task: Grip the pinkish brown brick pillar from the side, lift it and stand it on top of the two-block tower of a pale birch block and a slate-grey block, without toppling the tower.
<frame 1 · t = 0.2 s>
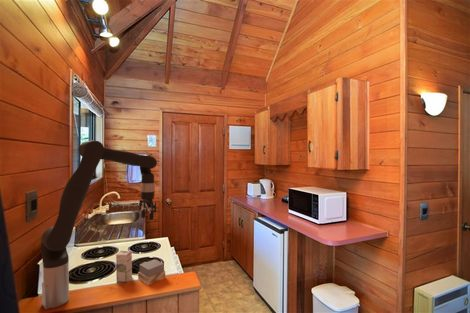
hand: (147, 218, 143), 29 cm above the counter, tool pointing down, fingers open, 8 cm apart
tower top: (151, 271, 131), point 4 cm above the counter
pinkish brown brick pillar: (124, 280, 130), on the counter
tower base: (151, 279, 131), on the counter
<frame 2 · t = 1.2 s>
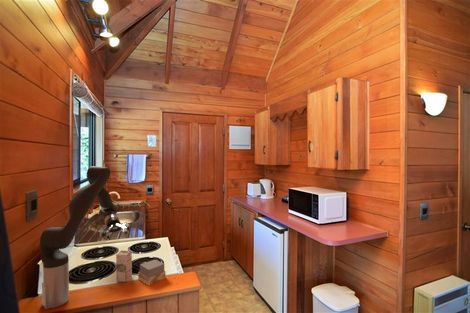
hand: (117, 235, 135), 22 cm above the counter, tool horizontal, fingers open, 8 cm apart
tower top: (152, 271, 130), point 4 cm above the counter, touching tower base
tower base: (151, 279, 131), on the counter, touching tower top
everything else where it was.
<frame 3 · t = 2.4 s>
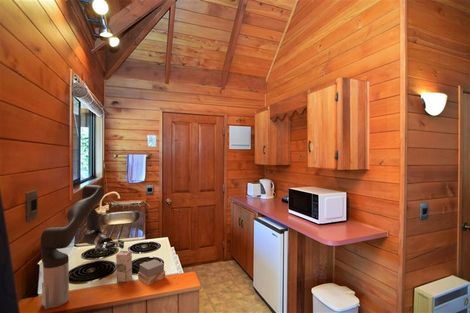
hand: (115, 249, 137), 13 cm above the counter, tool horizontal, fingers open, 8 cm apart
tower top: (151, 271, 131), point 4 cm above the counter
tower base: (151, 279, 131), on the counter
everything else where it was.
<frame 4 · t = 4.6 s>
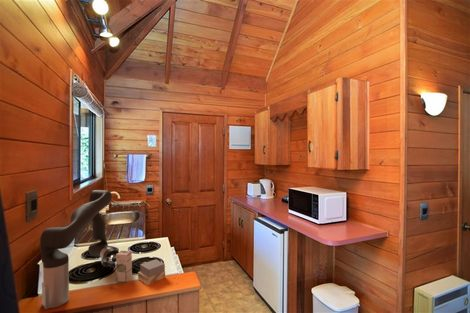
hand: (122, 262, 131), 9 cm above the counter, tool horizontal, fingers open, 8 cm apart
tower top: (152, 271, 131), point 4 cm above the counter, touching tower base
tower base: (151, 279, 131), on the counter, touching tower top
everything else where it was.
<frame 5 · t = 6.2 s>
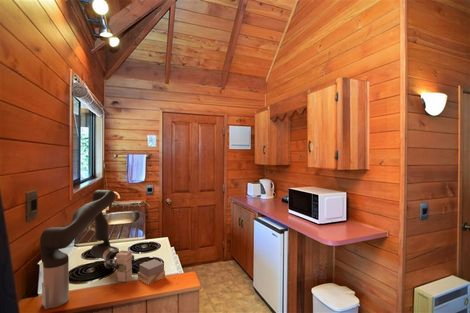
hand: (125, 264, 128), 9 cm above the counter, tool horizontal, fingers closed on pinkish brown brick pillar, 7 cm apart
pinkish brown brick pillar: (124, 280, 130), on the counter, touching gripper
everything else where it was.
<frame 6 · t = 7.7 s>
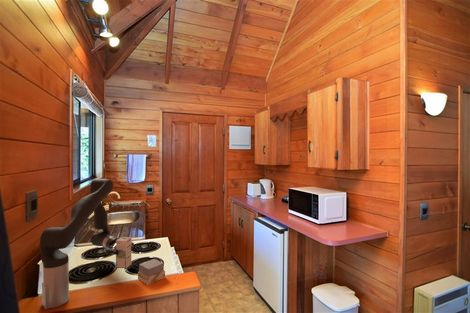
hand: (125, 250, 128), 16 cm above the counter, tool horizontal, fingers closed on pinkish brown brick pillar, 7 cm apart
pinkish brown brick pillar: (123, 266, 129), point 7 cm above the counter, touching gripper
everything else where it was.
when the fingers open (18 cm above the counter, at t = 11.9 s): pinkish brown brick pillar drops 2 cm, resting on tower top.
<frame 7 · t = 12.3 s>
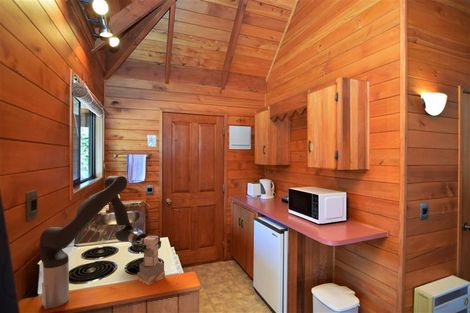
hand: (153, 245, 129), 18 cm above the counter, tool horizontal, fingers open, 8 cm apart
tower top: (151, 271, 131), point 4 cm above the counter, touching pinkish brown brick pillar, tower base
pinkish brown brick pillar: (151, 264, 130), point 7 cm above the counter, touching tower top
everything else where it was.
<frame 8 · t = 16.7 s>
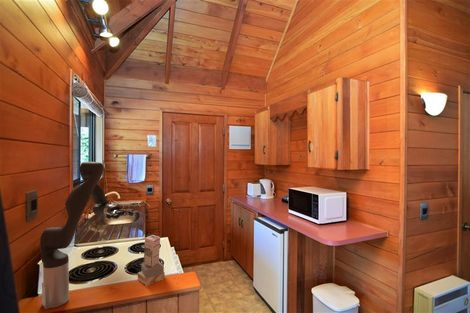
hand: (125, 215, 137), 32 cm above the counter, tool horizontal, fingers open, 8 cm apart
at the end: pinkish brown brick pillar 0.9 cm off-centre on the tower base, point 8.5 cm above the tower base's base; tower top 0.5 cm off-centre on the tower base, point 4.0 cm above the tower base's base; pinkish brown brick pillar tilted 14° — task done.
